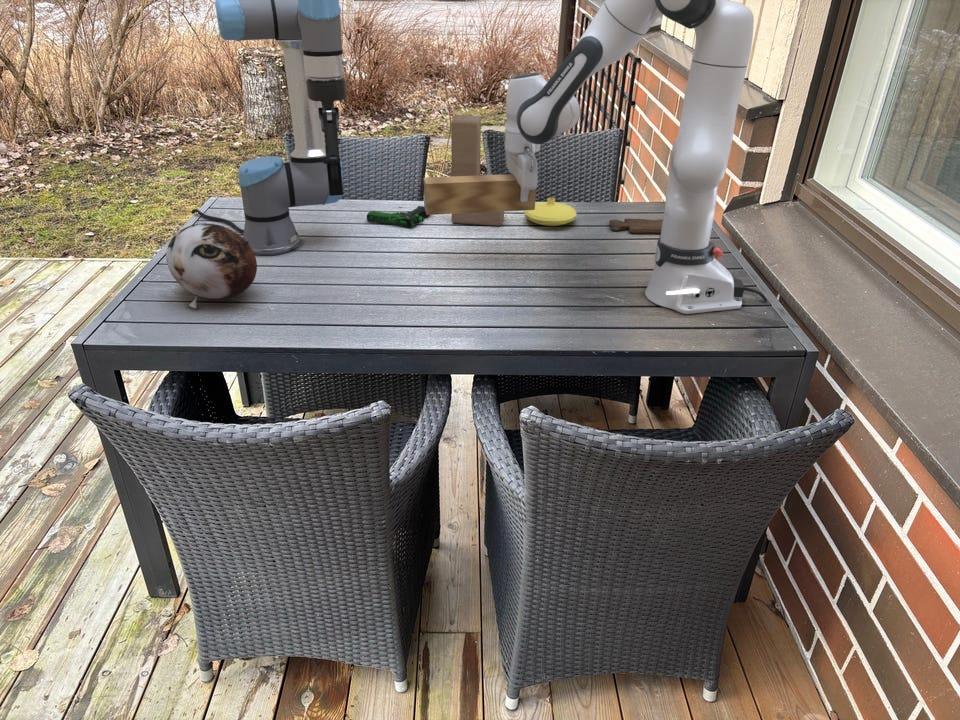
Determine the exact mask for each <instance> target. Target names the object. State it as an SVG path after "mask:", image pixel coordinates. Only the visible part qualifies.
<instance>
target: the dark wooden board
mask: <svg viewBox="0 0 960 720" xmlns="http://www.w3.org/2000/svg"><path fill="white" fill-rule="evenodd" d="M608 222H609V226H610V229H611V231H614V232H615V231H616V232H618V231H619V232H620V231H624V230H628V232H629V233H630V234H642V233H643V234H644V233H654V234H655V233H658V234H659V233H660V234H661V229H662V222H663V218H662V219H647V218H624V220H620V219H610V220H609V221H608Z"/></svg>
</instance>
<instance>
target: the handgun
mask: <svg viewBox="0 0 960 720" xmlns="http://www.w3.org/2000/svg"><path fill="white" fill-rule="evenodd" d="M429 216H430V215H427V214H426V211H425V208H424V205H423V206H422V205H417V206H416V208H414V209H412V210H411V211H407V212H403V211H400V212H399V211H397V212H392V213H391V212H382V211H377V210H371V211H369V212H368V213H367V214H366V221H367V222H372V223H380V224H390V225H396V226H401V227H403V228H404V227H405V228H411V229H412V228H413V227H415V226H418V224H421V223H423V222H424V220H425V218H427V217H429Z"/></svg>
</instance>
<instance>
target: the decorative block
mask: <svg viewBox="0 0 960 720" xmlns="http://www.w3.org/2000/svg"><path fill="white" fill-rule="evenodd" d="M450 124H451V126H450V129H451V131H450V133H451V135H450V136H451V142H450V143H451V149H450V150H451V177H452V176H477V175H481V151H482V150H481V147H482V145H481V144H482V142H481V141H482V140H481V139H482V118H481V116H480V115H465V114H456V115H455V116H454V117H453V118H452V120H451V122H450ZM504 219H505V211H502V212H480V213H459V214H451V222H452V223H453V224H464V225H480V226H481V225H482V226H494V227H495V226H496V227H500V226H502V224H503V221H504Z"/></svg>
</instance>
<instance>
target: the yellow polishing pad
mask: <svg viewBox="0 0 960 720" xmlns="http://www.w3.org/2000/svg"><path fill="white" fill-rule="evenodd" d="M546 200H547V201H539V202H535V210H523V212H524V213H523V214H524V216H525V218H526V219H527V220H529V221H531V222H533V223H535V224H537V225H540V226H547V227H557V226H558V227H559V226H563V225H566V224H569V223H571V222H573V221H574V220H575V219H576V217H577V214H578V213H577V211H576V210H575V208H574V207H573V206H571V205H569V204H566V203H562V202H556V198H555V197H548V198H547V199H546Z"/></svg>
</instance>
